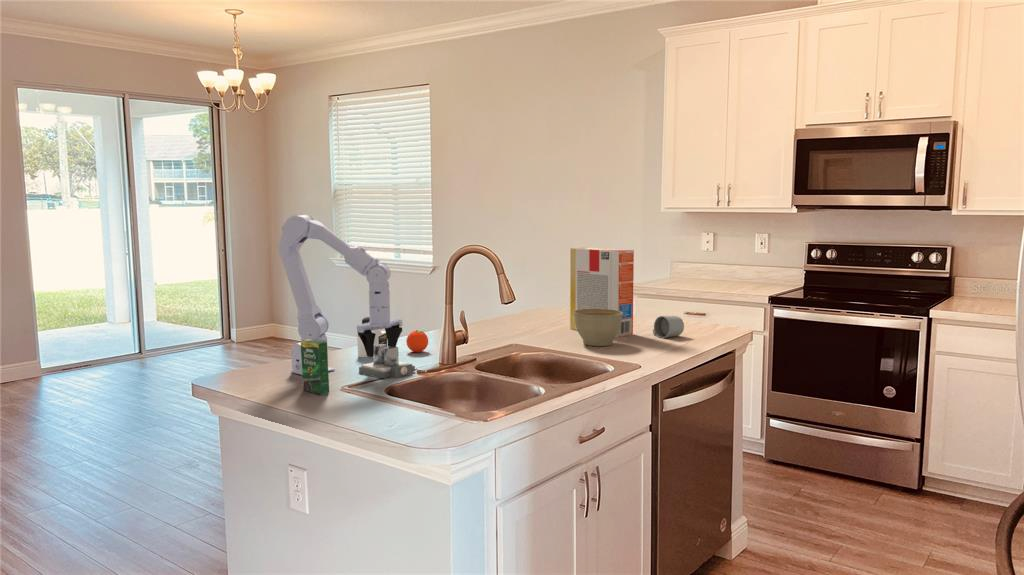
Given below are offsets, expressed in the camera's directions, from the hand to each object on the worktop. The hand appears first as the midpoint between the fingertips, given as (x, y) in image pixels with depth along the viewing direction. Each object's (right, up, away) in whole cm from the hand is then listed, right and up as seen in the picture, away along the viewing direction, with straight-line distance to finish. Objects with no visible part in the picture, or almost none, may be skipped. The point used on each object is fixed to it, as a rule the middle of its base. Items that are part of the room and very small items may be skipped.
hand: (381, 354), depth 210 cm
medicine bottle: (-6, -3, +22) cm, 23 cm away
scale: (+3, -5, -2) cm, 6 cm away
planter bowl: (+66, 0, +37) cm, 76 cm away
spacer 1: (0, -3, 0) cm, 3 cm away
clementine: (+7, -2, +27) cm, 28 cm away
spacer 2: (+3, -3, -3) cm, 5 cm away
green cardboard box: (-13, -8, -22) cm, 27 cm away
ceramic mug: (+91, +2, +50) cm, 104 cm away
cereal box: (+69, +3, +61) cm, 92 cm away
